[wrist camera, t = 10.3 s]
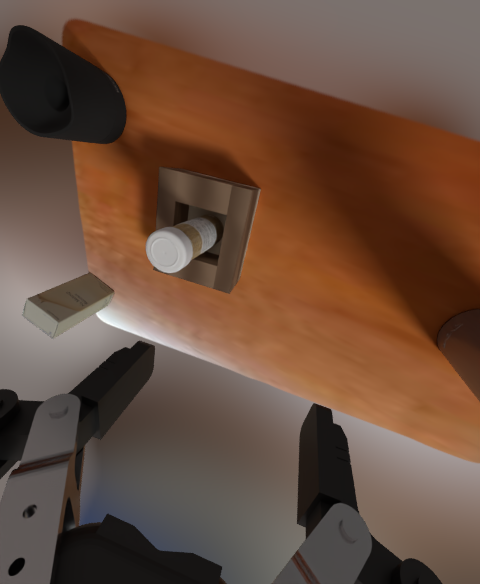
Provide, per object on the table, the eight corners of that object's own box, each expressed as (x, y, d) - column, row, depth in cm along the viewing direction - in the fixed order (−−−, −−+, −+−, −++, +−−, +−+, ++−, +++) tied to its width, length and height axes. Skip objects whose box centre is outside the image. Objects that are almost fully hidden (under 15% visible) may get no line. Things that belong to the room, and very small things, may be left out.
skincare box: (115, 291, 48) (60, 323, 37) (108, 306, 50) (53, 340, 39) (89, 271, 48) (25, 297, 37) (82, 286, 50) (20, 316, 39)
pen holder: (135, 146, 36) (80, 135, 27) (82, 148, 38) (14, 138, 29) (123, 63, 32) (54, 18, 23) (64, 69, 34) (-20, 31, 25)
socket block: (260, 188, 34) (252, 190, 29) (239, 278, 40) (229, 293, 35) (181, 168, 36) (159, 166, 30) (172, 258, 42) (153, 270, 37)
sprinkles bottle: (195, 241, 38) (144, 269, 26) (196, 211, 36) (142, 226, 24) (223, 247, 37) (184, 278, 25) (226, 216, 35) (186, 234, 23)
